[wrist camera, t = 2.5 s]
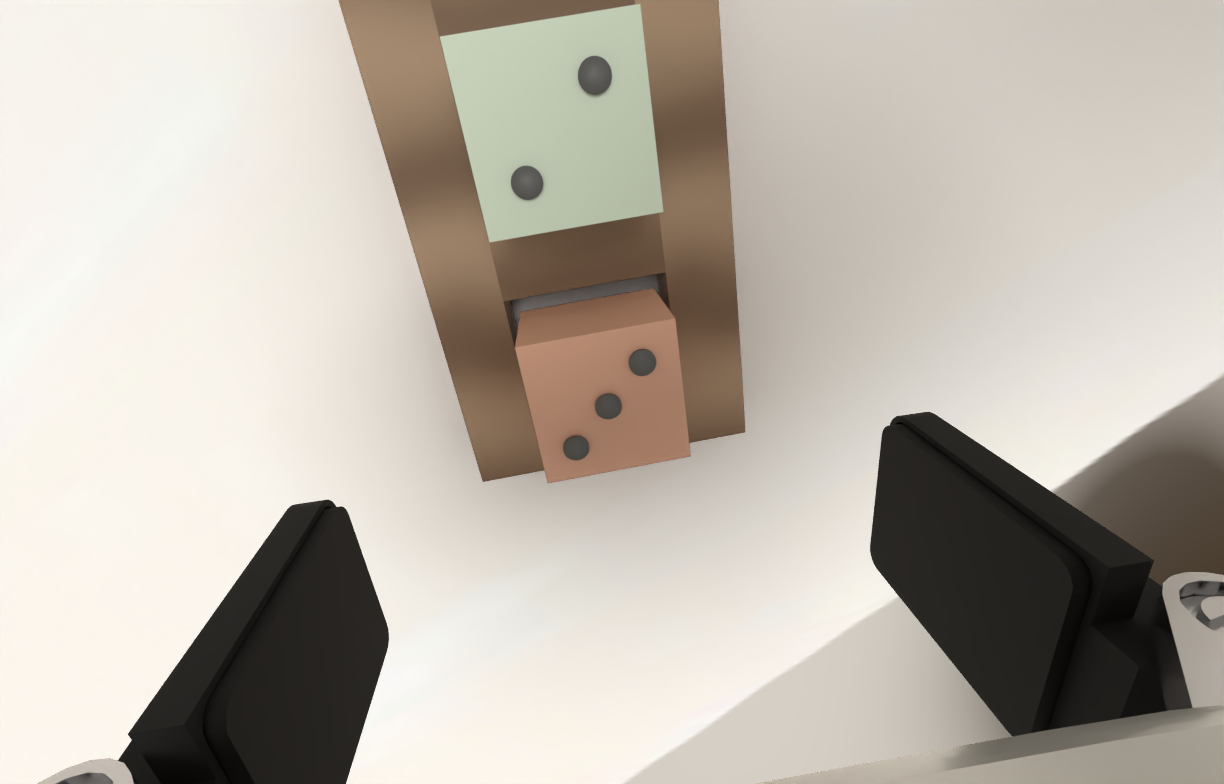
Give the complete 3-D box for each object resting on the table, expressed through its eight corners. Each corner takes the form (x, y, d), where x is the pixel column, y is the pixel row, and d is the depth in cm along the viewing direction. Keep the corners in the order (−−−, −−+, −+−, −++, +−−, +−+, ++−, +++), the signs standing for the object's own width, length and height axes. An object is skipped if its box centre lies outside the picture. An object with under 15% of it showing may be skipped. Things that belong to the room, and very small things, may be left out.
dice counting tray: (257, -343, 17) (214, -415, 15) (670, -401, 18) (688, -480, 16) (488, 455, 29) (482, 481, 27) (730, 410, 30) (745, 432, 28)
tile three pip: (520, 311, 24) (514, 349, 20) (653, 287, 24) (676, 319, 20) (547, 429, 27) (547, 486, 22) (668, 406, 27) (691, 458, 22)
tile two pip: (461, 58, 20) (438, 35, 16) (621, 31, 20) (641, 2, 16) (500, 223, 23) (488, 243, 18) (642, 198, 23) (664, 212, 18)
